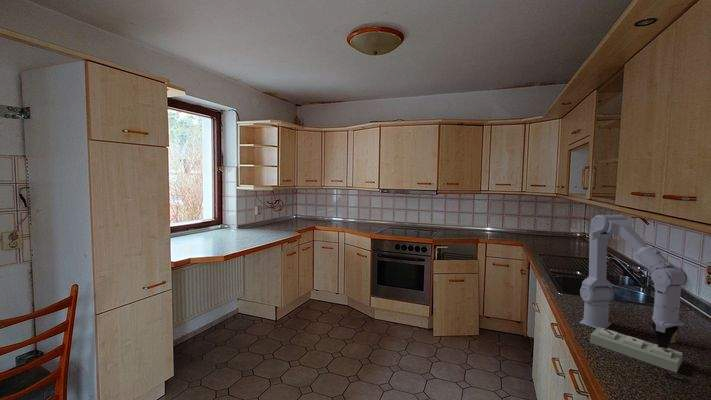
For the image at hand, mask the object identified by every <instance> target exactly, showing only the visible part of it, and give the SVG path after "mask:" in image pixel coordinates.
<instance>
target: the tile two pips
mask: <svg viewBox="0 0 711 400" xmlns="http://www.w3.org/2000/svg"><path fill="white" fill-rule="evenodd" d="M654 344H655V345H654V346H653V348H652V352H653V353H656V354H659V355H662V356H665V357H669V358H672V357H673V351H674V350H675V349H672V348H669V347H668V348H667V349H665V348H662V347H659V346H658V344H656V343H654Z"/></svg>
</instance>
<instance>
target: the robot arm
mask: <svg viewBox="0 0 711 400" xmlns="http://www.w3.org/2000/svg"><path fill="white" fill-rule="evenodd" d="M613 235H615V236H619V237H620V238H622V240H624V241H625V242H626V243H627V244H628V245H629V246H630V247H631V248H632V249H633V250H635V252H636V258H637V259H638V260H639V262H641V263H642V265H643V266H644V267H645V268H646V269H647V270H648V271H649V272H650V278H651V281H652V283H653V288H654V300H653V301H654V302H653V313H652V316H651V319H652V321H653V322H652V323H651V328H652V329H653V331H654V334H655V338H656V342H657V345H658V346H659V347H662V348H665V349H667V348H669V347H670V344H671V343H670V342H671V339H672V336H673V334H674V333H675V332H676V333H677V331H678V330H679V327H683V326H684V322H682V321H679V317H680V306H681V295H682V294H681V293H682V286H684V285H686V284H687V283H688V275H687V273H686V271H685V270H684V269H683V268H682V267H680V266H676V265H674V263H673V264H672V263H671V262H670V261H669V260H668V259H667V258H666V257H665V256H664V255H663V254H661V250H660V249H658V248H656V247H651V246H648V245H647V243H646V242H645V241H644V239H642V237H641V236H640V235H639V234H638V233H637V232H636V230H635V229H634V228H633V227H632V222H631V220H629V219H628V218H627V217H626V216H625V215H623V214H606V215H605V214H603V215H602V214H597V215H595V216H594V217H593V218H591V219H590V230H589V242H588V243H589V244H588V245H589V251H588V259H589V260H588V276H587V277H586V278H585V279H584V280H583V281H582V282H581V287H580V289H579V295H580V297H581V299H582V301H583V302H584V304H583V305H584V306H583V307H584V308H583V318H582V320H580V321H579V324H581V325H584V326H587V327H591V328H593V329H595V330H596V329H597V328H598V327H601V328H605V329H607V328H608V327H609V326H611V325H612V323H611V322H610V321H609V313H610V306H609V305H610V302H612V301H613V300H614V298H615V293H614V291H613V283H611V282H610V281H609V280H608V279H607V269H608V268H607V267H608V266H607V264H608V263H607V262H608V260H607V259H608V258H607V257H608V239H609V238H610V237H612V236H613Z"/></svg>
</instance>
